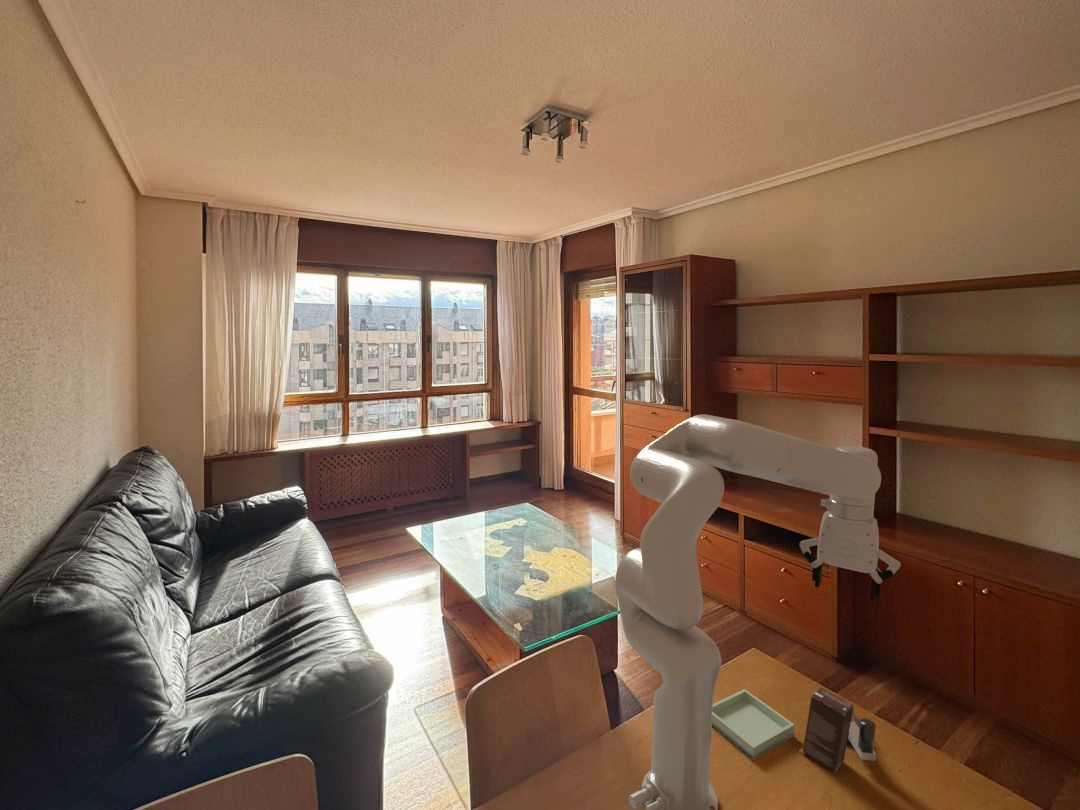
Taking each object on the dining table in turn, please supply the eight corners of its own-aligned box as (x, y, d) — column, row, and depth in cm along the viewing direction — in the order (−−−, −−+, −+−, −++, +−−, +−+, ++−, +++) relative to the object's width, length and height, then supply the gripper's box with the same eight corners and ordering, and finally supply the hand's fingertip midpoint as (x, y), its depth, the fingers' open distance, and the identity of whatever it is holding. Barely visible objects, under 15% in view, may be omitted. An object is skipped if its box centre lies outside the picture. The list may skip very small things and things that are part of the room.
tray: (752, 760, 97) (753, 747, 97) (704, 719, 108) (704, 708, 107) (793, 736, 103) (794, 724, 103) (744, 699, 113) (744, 688, 113)
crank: (827, 711, 107) (829, 682, 106) (848, 712, 106) (850, 684, 105) (856, 759, 95) (859, 727, 94) (880, 761, 94) (883, 728, 93)
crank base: (818, 766, 96) (819, 757, 95) (785, 741, 102) (785, 731, 101) (869, 734, 103) (870, 725, 103) (835, 712, 109) (835, 703, 109)
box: (844, 761, 97) (855, 705, 95) (834, 773, 94) (845, 716, 92) (811, 739, 102) (820, 685, 99) (800, 751, 99) (810, 696, 96)
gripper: (798, 506, 104) (793, 586, 106) (903, 524, 94) (895, 613, 96) (806, 496, 110) (801, 573, 112) (905, 513, 99) (898, 597, 102)
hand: (844, 591), depth 104 cm, fingers open, 9 cm apart
